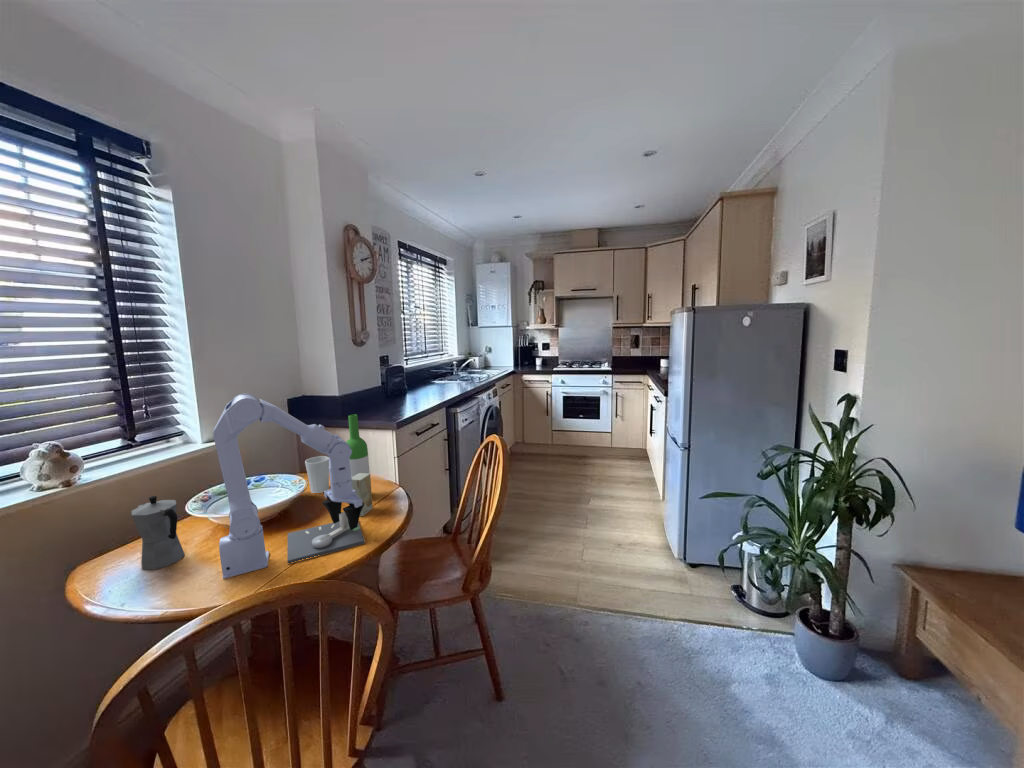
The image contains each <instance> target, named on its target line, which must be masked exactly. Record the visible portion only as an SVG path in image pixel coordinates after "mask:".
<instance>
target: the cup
mask: <svg viewBox="0 0 1024 768" xmlns="http://www.w3.org/2000/svg"><path fill="white" fill-rule="evenodd" d="M328 458H329V456H328V455H326V456H325V455H319V456H314V457H310V458H307V459H306V460H305V461H304V465H305V469H306V473H307V480H308V483H309V484H308V485H309V488H310V493H311V492H312V493H321V492H324V491H326V490H328V489H330V475H329V459H328ZM312 493H311V494H312ZM321 494H322V493H321Z"/></svg>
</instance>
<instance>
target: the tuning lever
mask: <svg viewBox="0 0 1024 768" xmlns="http://www.w3.org/2000/svg"><path fill="white" fill-rule="evenodd" d="M339 521H340V528H338V529H336V530H334V531H333V532H331V533H329V534H325V535H320V536H317V537H315V538H314V539H313V540H312V546H313V547H314V548H323V547H326V546H328V545H330V544H331V543H332V538H333V537H335V536H336V535H338V534H340V533H342V532H343V531H345V530H347V529H349V524H348V519H347V516H346V514H345V512H344V511H343V512H342V511H341V513H340V514H339Z"/></svg>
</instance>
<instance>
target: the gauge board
mask: <svg viewBox="0 0 1024 768" xmlns="http://www.w3.org/2000/svg"><path fill="white" fill-rule="evenodd" d="M338 528H340V521H339V522H337V523H333V522H329V523H325V524H320V525H316V526H313V527H308V528H305V529H300V530H296V531H292V532H288V533H287V552H286V553H287V556H286V558H287V564H288V563H291V562H295V561H298V560H302V559H306V558H310V557H313V558H315V557H314V556H317V557H319V556H318V555H321V556H324V555H327V553H328V554H330V553H332V554H333V553H335V552H339V551H342V550H346V549H350V548H353V547H357V546H360V545H364V544H366V540H365V537H364V534H363V531H362V528H361V526H360V524H359V522H358V527H356V528H354V529H352V530H351V529H350V528H349V529H347V530H345V531H343V532H342V533H340V534H338V535H336V536H335V537H333V538H332V543H331V544H330V545H328V546H326V547H323V548H314V547H313V546H312V540H313V539H314V538H315V537H317V536H320V535H325V534H329V533H331V532H333V531H334V530H336V529H338ZM323 554H324V555H323ZM310 559H311V558H310ZM306 560H307V559H306ZM302 561H303V560H302ZM298 562H299V561H298ZM295 563H296V562H295ZM291 564H292V563H291Z"/></svg>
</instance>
